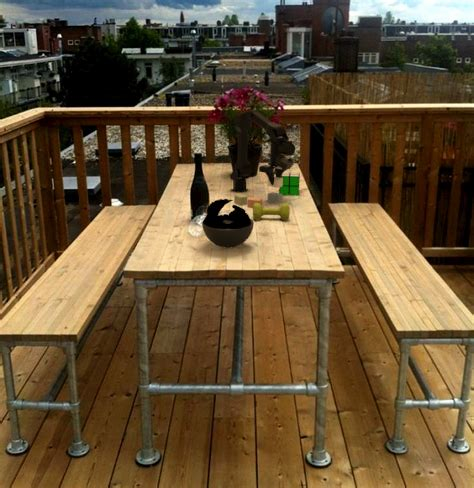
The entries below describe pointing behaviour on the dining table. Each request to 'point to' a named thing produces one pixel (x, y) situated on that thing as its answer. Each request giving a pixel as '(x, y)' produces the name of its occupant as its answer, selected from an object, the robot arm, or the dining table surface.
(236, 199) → the olive brick
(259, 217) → the dumbbell
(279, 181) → the cream brick
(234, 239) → the black hollow round piece
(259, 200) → the terracotta brick
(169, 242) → the dining table surface
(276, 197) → the slate-blue brick
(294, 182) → the puzzle cube
